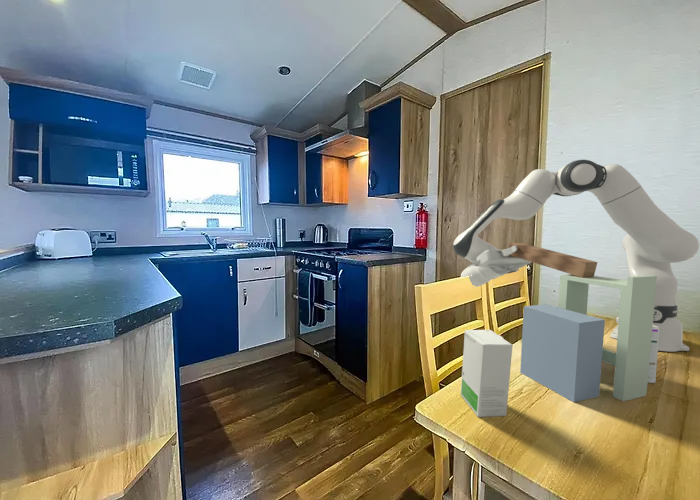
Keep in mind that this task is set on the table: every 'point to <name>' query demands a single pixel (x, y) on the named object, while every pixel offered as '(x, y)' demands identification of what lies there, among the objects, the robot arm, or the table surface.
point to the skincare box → (486, 372)
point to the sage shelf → (621, 327)
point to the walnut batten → (555, 260)
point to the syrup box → (653, 355)
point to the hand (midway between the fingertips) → (524, 247)
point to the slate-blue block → (562, 350)
